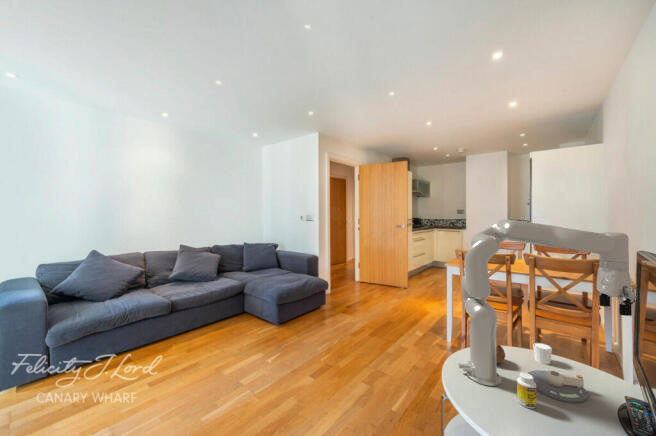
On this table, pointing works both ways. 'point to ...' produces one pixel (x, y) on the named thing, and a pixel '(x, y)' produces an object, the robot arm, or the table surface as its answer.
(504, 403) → the table surface
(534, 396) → the supplement bottle
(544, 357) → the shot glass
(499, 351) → the onion
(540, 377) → the dial
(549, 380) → the lever
